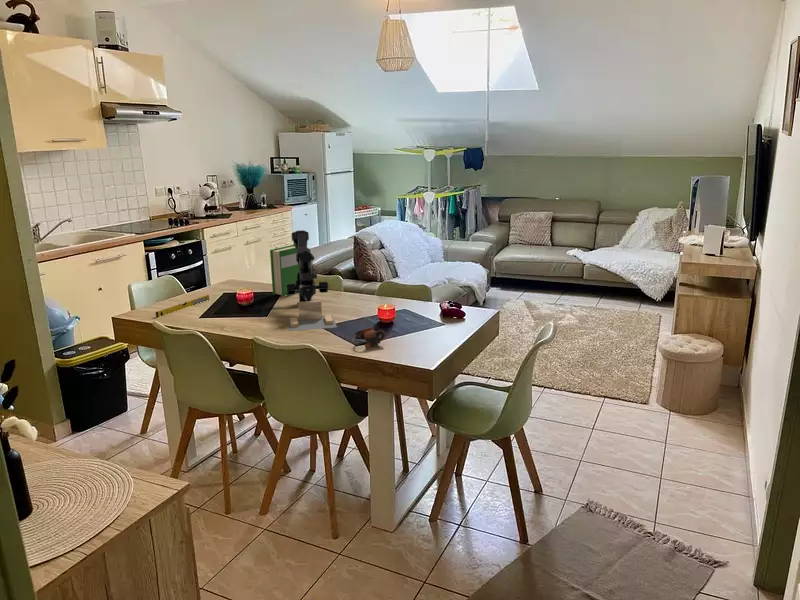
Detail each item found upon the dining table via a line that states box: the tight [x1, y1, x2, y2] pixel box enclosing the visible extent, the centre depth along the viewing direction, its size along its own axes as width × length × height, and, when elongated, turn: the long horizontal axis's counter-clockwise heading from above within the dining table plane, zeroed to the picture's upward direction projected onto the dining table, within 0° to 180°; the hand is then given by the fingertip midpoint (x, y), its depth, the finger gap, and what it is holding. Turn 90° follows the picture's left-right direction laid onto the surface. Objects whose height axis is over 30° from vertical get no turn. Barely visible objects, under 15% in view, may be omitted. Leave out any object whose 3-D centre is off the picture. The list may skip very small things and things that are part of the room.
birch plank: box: [297, 300, 323, 321], centre depth 269 cm, size 2×10×8 cm, turn 103°
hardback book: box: [269, 244, 299, 297], centre depth 319 cm, size 18×7×24 cm, turn 147°
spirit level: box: [155, 294, 210, 318], centre depth 294 cm, size 33×1×3 cm, turn 154°
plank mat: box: [287, 314, 338, 332], centre depth 265 cm, size 19×20×3 cm
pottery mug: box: [354, 327, 387, 350], centre depth 239 cm, size 12×10×8 cm
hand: (309, 303), depth 273 cm, fingers closed
